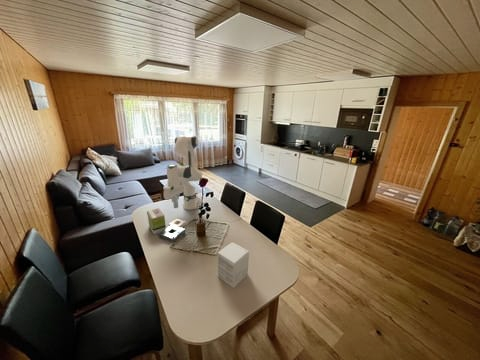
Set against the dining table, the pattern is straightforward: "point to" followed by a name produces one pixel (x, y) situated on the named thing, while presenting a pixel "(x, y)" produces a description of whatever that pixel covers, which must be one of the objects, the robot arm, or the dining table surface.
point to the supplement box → (233, 264)
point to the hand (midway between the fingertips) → (175, 200)
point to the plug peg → (175, 201)
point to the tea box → (156, 220)
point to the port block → (168, 232)
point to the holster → (179, 222)
